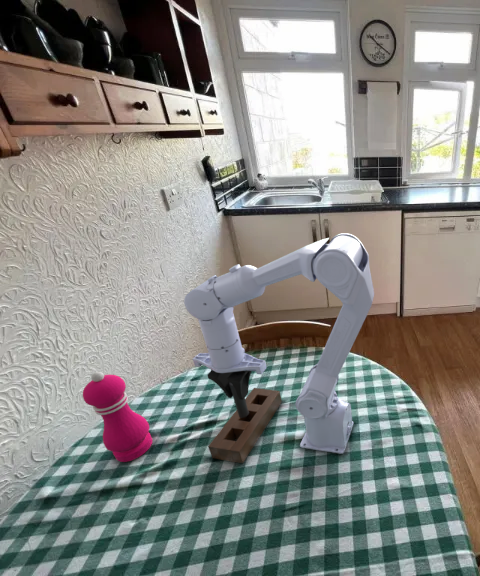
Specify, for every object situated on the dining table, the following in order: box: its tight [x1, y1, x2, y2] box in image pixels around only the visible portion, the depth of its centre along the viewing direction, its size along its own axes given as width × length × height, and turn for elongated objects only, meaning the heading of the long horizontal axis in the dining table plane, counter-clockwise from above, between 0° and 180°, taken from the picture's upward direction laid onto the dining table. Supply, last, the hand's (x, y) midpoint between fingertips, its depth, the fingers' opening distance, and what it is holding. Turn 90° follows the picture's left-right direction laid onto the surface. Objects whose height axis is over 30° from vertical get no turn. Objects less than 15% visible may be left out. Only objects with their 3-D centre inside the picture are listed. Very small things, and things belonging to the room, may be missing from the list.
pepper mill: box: [82, 371, 153, 463], centre depth 61 cm, size 7×7×20 cm
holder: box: [207, 387, 283, 464], centre depth 69 cm, size 7×16×4 cm, turn 170°
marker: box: [229, 382, 249, 418], centre depth 65 cm, size 2×2×9 cm
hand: (238, 395), depth 65 cm, fingers closed on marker, 2 cm apart
